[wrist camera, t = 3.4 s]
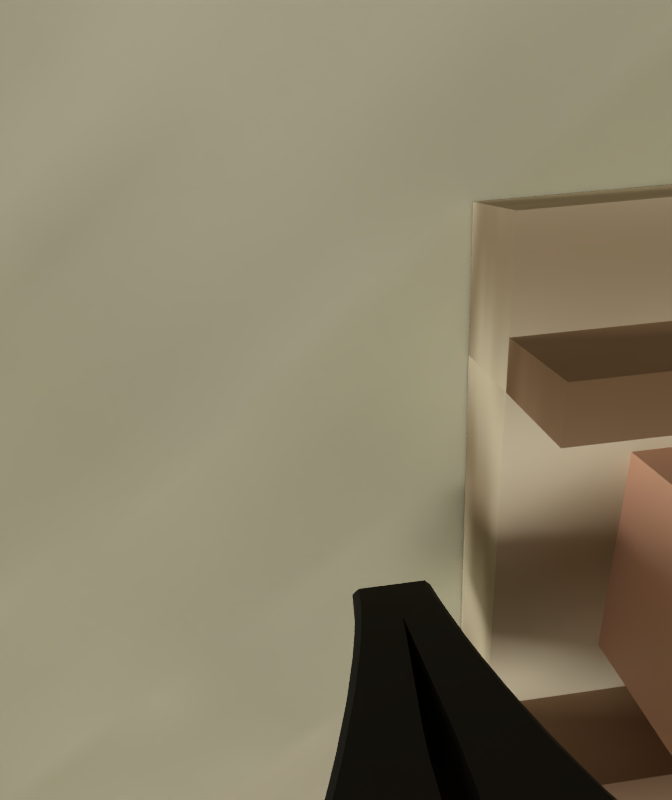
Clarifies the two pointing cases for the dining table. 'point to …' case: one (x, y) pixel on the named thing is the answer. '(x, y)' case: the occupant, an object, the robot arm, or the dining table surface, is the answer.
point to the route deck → (564, 454)
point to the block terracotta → (644, 590)
